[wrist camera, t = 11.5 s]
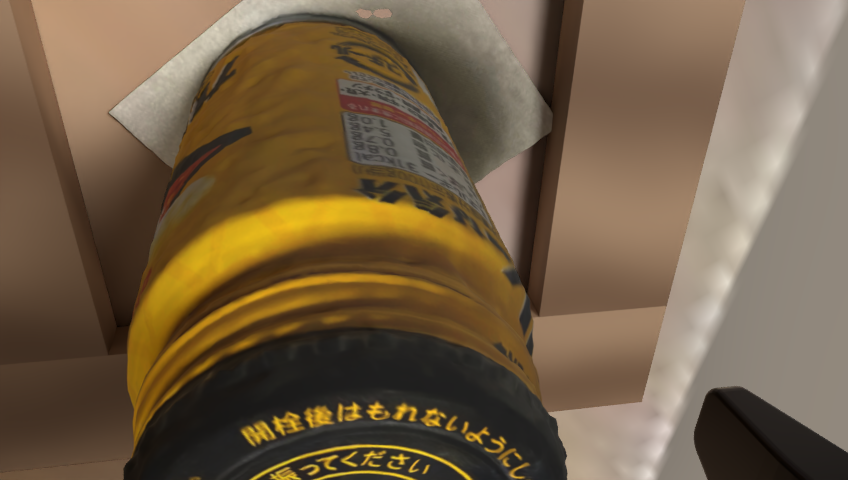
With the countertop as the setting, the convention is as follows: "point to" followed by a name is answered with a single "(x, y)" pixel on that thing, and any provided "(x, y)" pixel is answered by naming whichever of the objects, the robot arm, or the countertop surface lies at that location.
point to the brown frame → (552, 252)
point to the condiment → (336, 252)
